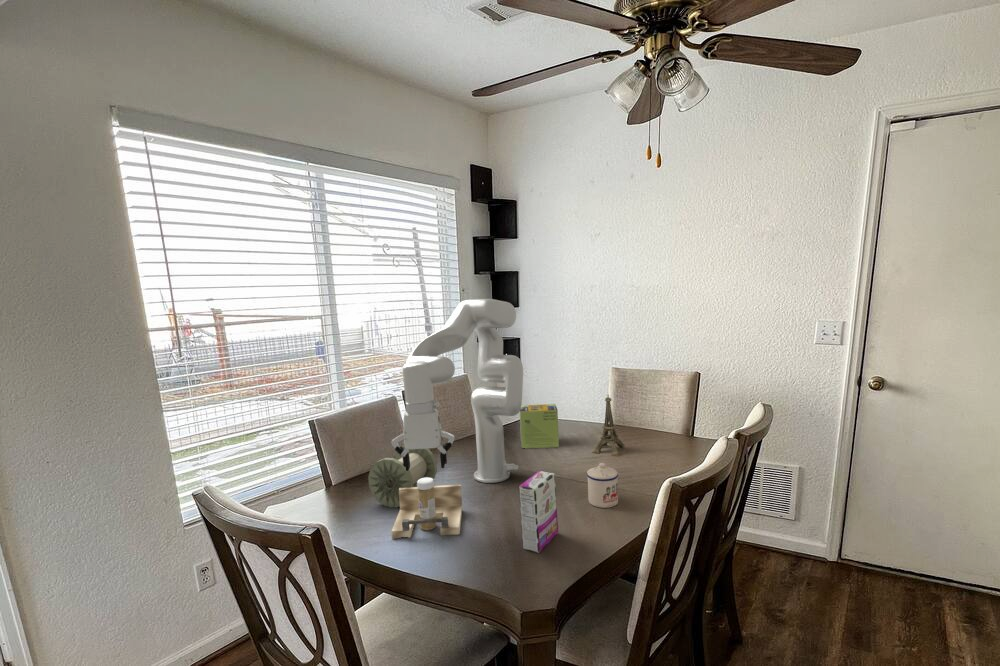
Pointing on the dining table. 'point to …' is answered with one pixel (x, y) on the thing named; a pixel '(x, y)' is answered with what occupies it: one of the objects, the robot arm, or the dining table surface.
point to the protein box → (539, 426)
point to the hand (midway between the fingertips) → (425, 467)
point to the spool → (400, 475)
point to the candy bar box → (538, 511)
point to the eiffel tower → (613, 436)
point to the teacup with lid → (602, 486)
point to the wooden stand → (445, 508)
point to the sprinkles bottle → (426, 502)
